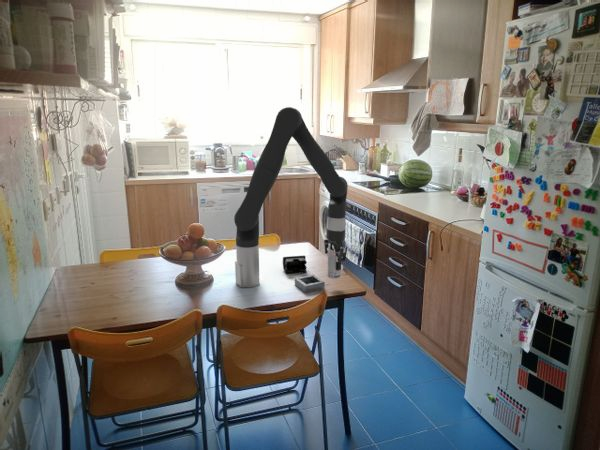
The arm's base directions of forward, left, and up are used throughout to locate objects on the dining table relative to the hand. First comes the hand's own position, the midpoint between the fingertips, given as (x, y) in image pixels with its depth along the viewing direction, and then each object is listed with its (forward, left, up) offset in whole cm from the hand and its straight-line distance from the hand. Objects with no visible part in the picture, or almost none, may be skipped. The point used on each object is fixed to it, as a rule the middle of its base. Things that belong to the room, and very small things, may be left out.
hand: (334, 267), depth 181 cm
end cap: (-6, +24, -9) cm, 26 cm away
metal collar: (-9, +5, -9) cm, 13 cm away
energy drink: (0, 0, -4) cm, 4 cm away
